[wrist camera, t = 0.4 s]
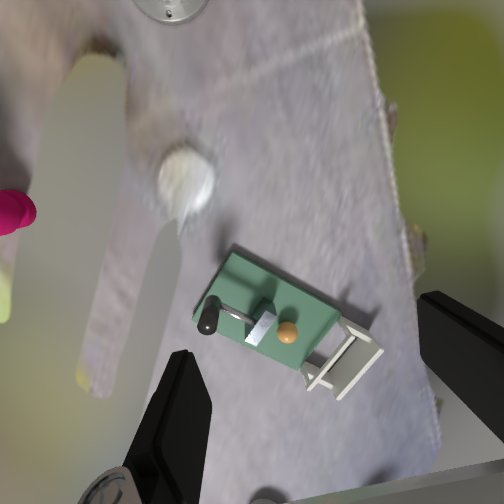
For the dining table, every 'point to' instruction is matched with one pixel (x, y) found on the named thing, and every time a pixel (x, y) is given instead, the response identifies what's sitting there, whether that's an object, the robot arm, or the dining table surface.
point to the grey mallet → (253, 324)
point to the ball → (287, 332)
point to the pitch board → (286, 303)
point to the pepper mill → (15, 211)
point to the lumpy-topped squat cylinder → (263, 501)
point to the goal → (344, 361)
